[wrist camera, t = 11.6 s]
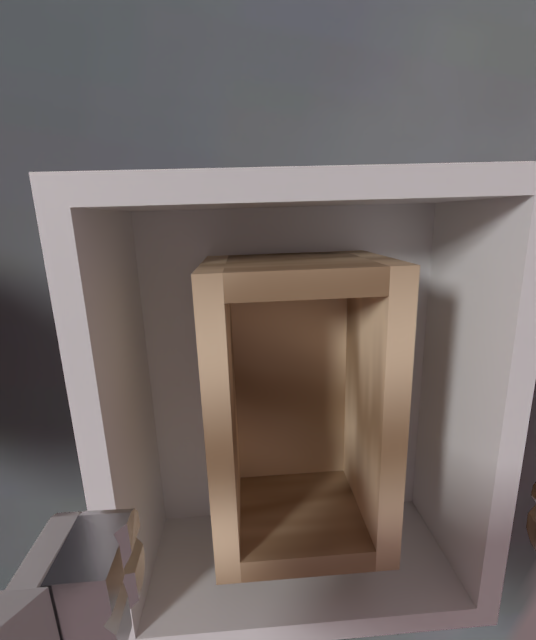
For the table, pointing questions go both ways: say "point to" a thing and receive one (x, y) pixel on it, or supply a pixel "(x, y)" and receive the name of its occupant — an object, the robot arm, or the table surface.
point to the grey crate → (184, 384)
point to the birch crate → (305, 410)
